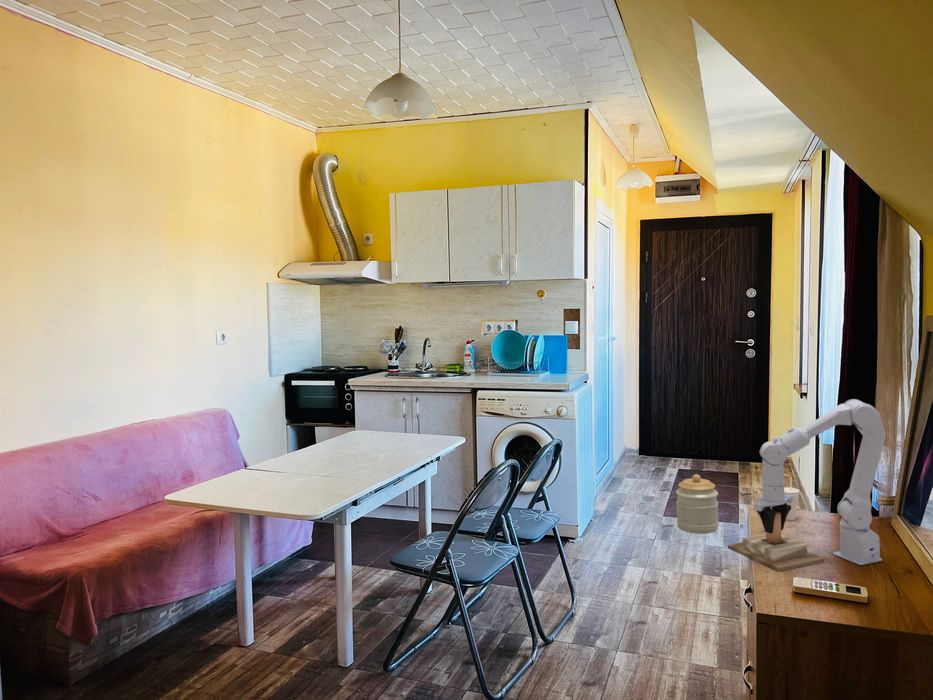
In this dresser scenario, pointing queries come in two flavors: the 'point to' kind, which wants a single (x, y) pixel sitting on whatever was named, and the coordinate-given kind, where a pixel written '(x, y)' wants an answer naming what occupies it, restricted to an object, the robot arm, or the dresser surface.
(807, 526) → the dresser surface
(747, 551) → the socket
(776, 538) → the peg
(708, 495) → the jar
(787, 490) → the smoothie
